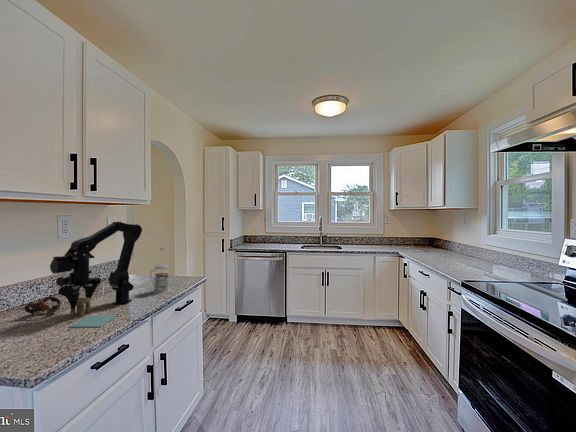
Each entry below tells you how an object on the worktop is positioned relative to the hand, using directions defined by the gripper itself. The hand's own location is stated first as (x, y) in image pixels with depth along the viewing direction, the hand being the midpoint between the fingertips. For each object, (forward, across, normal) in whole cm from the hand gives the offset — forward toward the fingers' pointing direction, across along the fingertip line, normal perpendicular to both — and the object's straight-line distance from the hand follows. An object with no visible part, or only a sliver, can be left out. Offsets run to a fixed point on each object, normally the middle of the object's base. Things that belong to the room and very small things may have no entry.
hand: (80, 305), depth 124 cm
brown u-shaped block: (+4, 0, 0) cm, 4 cm away
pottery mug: (+4, 0, -16) cm, 17 cm away
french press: (+4, -38, +19) cm, 43 cm away
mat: (+4, +8, +11) cm, 14 cm away
